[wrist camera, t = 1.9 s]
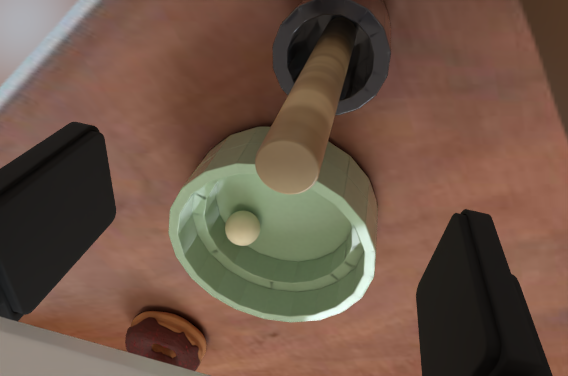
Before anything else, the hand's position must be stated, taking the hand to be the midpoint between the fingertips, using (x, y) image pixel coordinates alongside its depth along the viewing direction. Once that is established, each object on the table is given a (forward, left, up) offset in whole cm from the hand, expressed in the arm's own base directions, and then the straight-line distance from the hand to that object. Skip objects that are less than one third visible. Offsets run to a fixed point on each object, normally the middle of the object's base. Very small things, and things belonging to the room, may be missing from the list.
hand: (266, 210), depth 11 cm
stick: (0, 0, -18) cm, 18 cm away
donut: (+27, -31, -19) cm, 45 cm away
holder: (0, 0, -18) cm, 18 cm away
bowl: (+12, -9, -18) cm, 24 cm away
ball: (+12, -12, -16) cm, 24 cm away
